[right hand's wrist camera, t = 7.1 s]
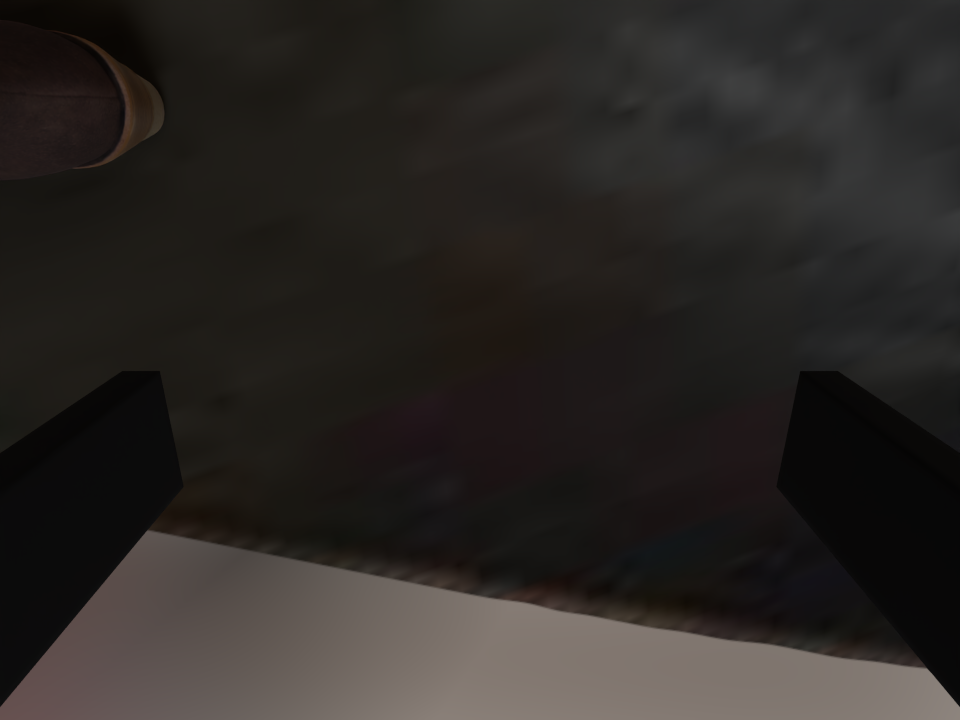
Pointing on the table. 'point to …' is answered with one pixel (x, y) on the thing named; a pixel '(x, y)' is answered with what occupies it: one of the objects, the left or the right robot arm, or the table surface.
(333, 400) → the table surface
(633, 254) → the table surface
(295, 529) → the table surface
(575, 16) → the table surface
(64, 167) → the boot
